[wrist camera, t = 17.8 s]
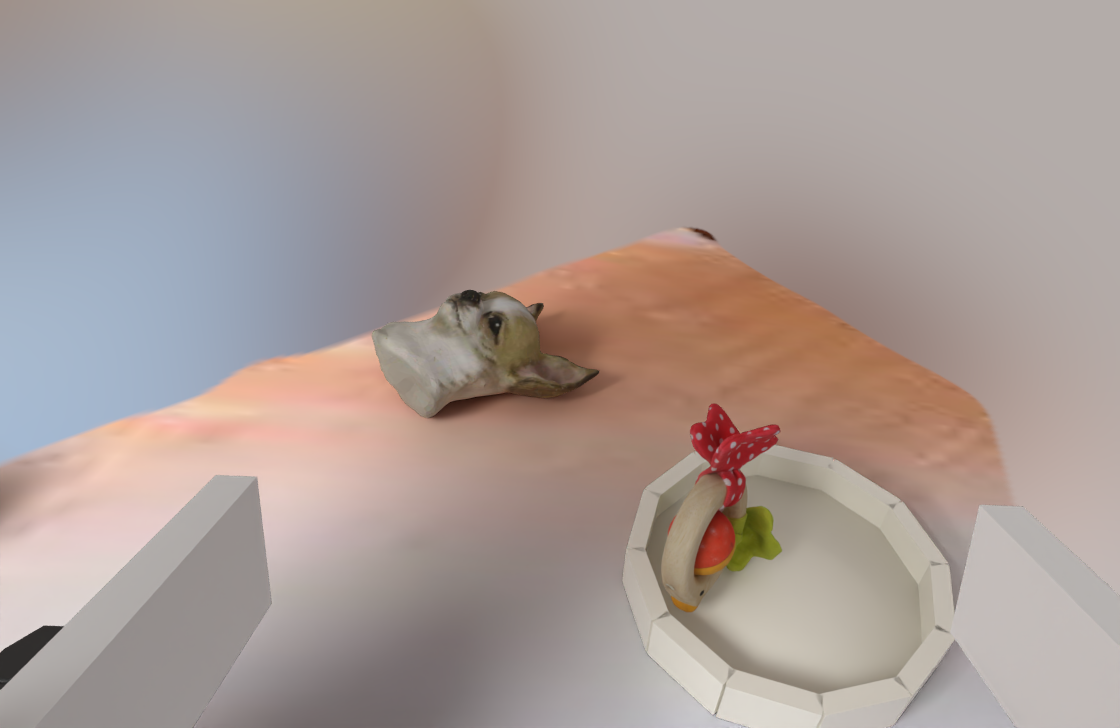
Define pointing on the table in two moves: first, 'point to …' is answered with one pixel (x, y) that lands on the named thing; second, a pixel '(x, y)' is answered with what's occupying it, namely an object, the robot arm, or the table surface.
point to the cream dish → (799, 600)
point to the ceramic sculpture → (472, 354)
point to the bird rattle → (717, 513)
